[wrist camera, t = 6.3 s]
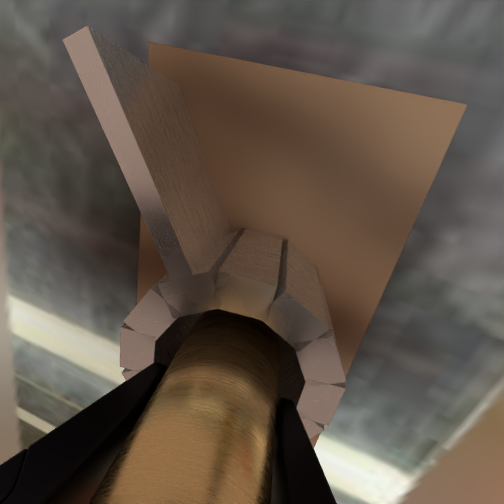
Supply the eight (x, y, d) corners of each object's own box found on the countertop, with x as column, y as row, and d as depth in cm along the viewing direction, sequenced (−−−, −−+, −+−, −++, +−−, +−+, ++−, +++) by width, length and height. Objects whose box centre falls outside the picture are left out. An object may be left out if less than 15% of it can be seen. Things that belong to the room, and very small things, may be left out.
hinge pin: (278, 403, 11) (249, 978, 3) (172, 373, 11) (-83, 837, 3) (309, 310, 9) (400, 1057, 2) (182, 278, 9) (-263, 775, 2)
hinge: (274, 445, 16) (268, 558, 12) (142, 407, 17) (86, 500, 12) (388, 129, 10) (476, 102, 5) (164, 82, 10) (61, 20, 6)
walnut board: (308, 441, 17) (309, 457, 16) (139, 392, 18) (131, 404, 17) (451, 109, 10) (467, 104, 9) (161, 51, 11) (148, 41, 10)
